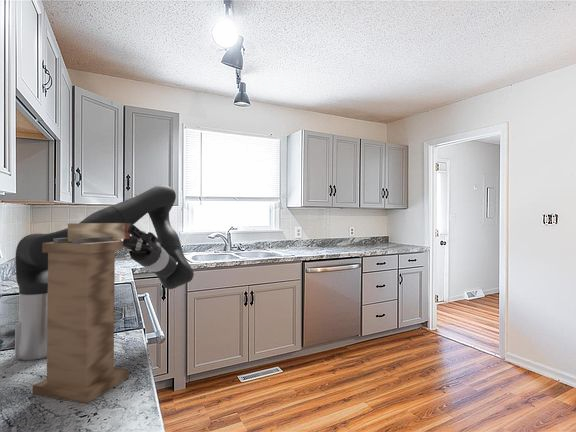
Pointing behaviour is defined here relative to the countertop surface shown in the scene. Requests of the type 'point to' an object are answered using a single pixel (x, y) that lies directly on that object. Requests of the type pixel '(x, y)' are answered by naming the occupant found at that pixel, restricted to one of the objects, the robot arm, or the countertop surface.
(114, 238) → the maple bar
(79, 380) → the walnut stand
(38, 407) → the countertop surface
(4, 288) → the countertop surface
